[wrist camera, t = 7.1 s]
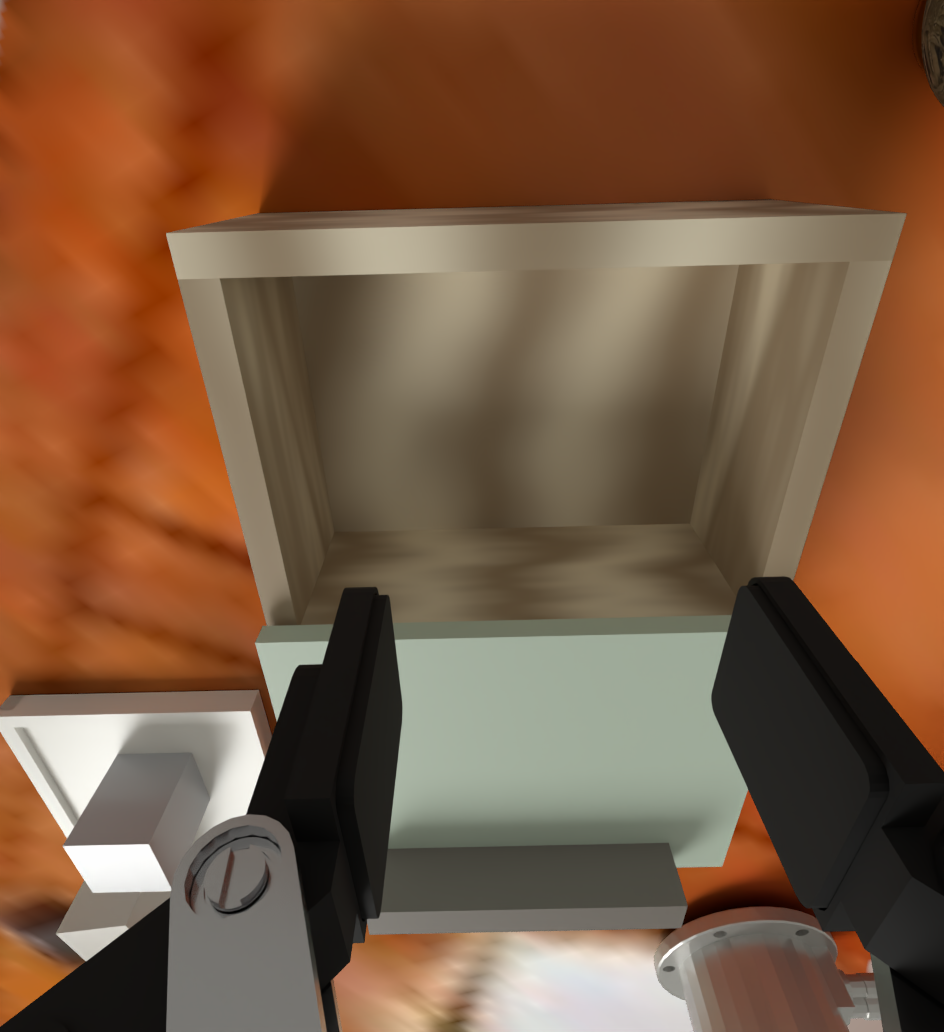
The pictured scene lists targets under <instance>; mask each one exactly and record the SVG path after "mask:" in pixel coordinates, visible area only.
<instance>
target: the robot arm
mask: <svg viewBox="0 0 944 1032" xmlns="http://www.w3.org/2000/svg"><path fill="white" fill-rule="evenodd" d="M711 702H712V708H713V712H714V715H715V717H716V719H717V721H718V724H719V726H720V728H721V730H722V732H723V735H724V737H725V739H726V741H727V743H728V746H729V748H730V750H731V752H732V755H733V757H734V759H735V761H736V763H737V766H738V768H739V770H740V772H741V774H742V777H743V779H744V781H745V783H746V786H747V788H748V790H749V792H750V794H751V797H752V799H753V801H754V803H755V805H756V808H757V810H758V812H759V814H760V816H761V819H762V821H763V823H764V825H765V828H766V830H767V832H768V834H769V836H770V839H771V841H772V843H773V845H774V847H775V850H776V852H777V854H778V856H779V858H780V861H781V863H782V865H783V867H784V870H785V872H786V874H787V876H788V878H789V881H790V883H791V885H792V887H793V889H794V892H795V894H796V896H797V898H798V900H799V901H800V902H801V904H802V905H803V906H804V907H806V908H812V909H813V911H814V914H815V916H816V918H815V917H813V916H812V915H809V914H806V913H804V912H801V911H798V910H793V909H788V908H782V907H771V906H758V907H743V908H735V909H729V910H725V911H720V912H715V913H712V914H709V915H706V916H703V917H700V918H697V919H695V920H693V921H691V922H688V923H686V924H684V925H683V926H682V927H681V928H678V929H676V930H674V931H673V932H672V933H670V934H669V935H668V936H667V937H666V938H665V939H664V940H663V941H662V942H661V944H660V945H659V946H658V948H657V950H656V952H655V955H654V966H655V970H656V974H657V977H658V981H659V983H660V984H661V985H662V987H663V988H664V989H665V990H667V991H668V992H669V993H671V994H672V995H674V996H676V997H678V998H680V999H682V1000H685V1001H686V1004H687V1008H688V1012H689V1016H690V1020H691V1024H692V1027H693V1031H694V1032H849V1029H848V1027H847V1025H849V1024H850V1019H852V1018H853V1019H854V1018H863V1019H865V1020H881V1021H882V1027H883V1032H944V772H943V770H942V769H941V768H940V767H939V765H938V764H937V763H936V761H935V760H934V759H933V758H932V756H931V755H930V754H929V753H928V751H927V750H926V749H925V747H924V746H923V745H922V744H921V742H920V741H919V740H918V739H917V737H916V736H915V735H914V733H913V732H912V731H911V730H910V728H909V727H908V726H907V725H906V723H905V722H904V721H903V719H902V718H901V717H900V716H899V714H898V713H897V712H896V711H895V709H894V708H893V707H892V705H891V704H890V703H889V702H888V700H887V699H886V698H885V697H884V695H883V694H882V693H881V691H880V690H879V689H878V688H877V686H876V685H875V684H874V683H873V681H872V680H871V679H870V677H869V676H868V675H867V674H866V672H865V671H864V670H863V669H862V667H861V666H860V665H859V663H858V662H857V661H856V660H855V659H854V658H853V657H852V655H851V654H850V653H849V651H848V650H847V649H846V648H845V646H844V645H843V644H842V642H841V641H840V640H839V639H838V637H837V636H836V635H835V634H834V632H833V631H832V630H831V628H830V627H829V626H828V625H827V623H826V622H825V621H824V620H823V618H822V617H821V616H820V614H819V613H818V612H817V611H816V609H815V608H814V607H813V606H812V604H811V603H810V602H809V600H808V599H807V598H806V597H805V595H804V594H803V593H802V591H801V590H800V589H799V588H798V586H797V585H796V584H795V583H794V581H793V580H792V579H791V578H789V577H786V576H778V577H754V578H751V580H750V581H749V582H748V585H747V586H741V587H740V588H739V590H738V593H737V597H736V601H735V605H734V608H733V612H732V616H731V620H730V624H729V628H728V632H727V635H726V639H725V643H724V647H723V651H722V655H721V659H720V662H719V666H718V670H717V674H716V678H715V682H714V686H713V689H712V694H711ZM402 709H403V708H402V695H401V687H400V679H399V670H398V662H397V654H396V645H395V637H394V629H393V620H392V612H391V604H390V597H389V595H379V592H378V589H377V587H349V588H345V589H344V590H343V593H342V596H341V599H340V603H339V607H338V610H337V614H336V617H335V621H334V624H333V628H332V631H331V635H330V638H329V642H328V645H327V649H326V652H325V656H324V660H323V663H322V664H310V665H298V666H297V668H296V669H295V671H294V673H293V676H292V678H291V681H290V684H289V687H288V690H287V693H286V696H285V699H284V702H283V705H282V708H281V711H280V714H279V717H278V720H277V723H276V726H275V729H274V732H273V735H272V738H271V741H270V744H269V747H268V750H267V753H266V756H265V759H264V762H263V765H262V768H261V771H260V774H259V777H258V780H257V783H256V786H255V789H254V792H253V795H252V798H251V801H250V804H249V807H248V810H247V813H246V815H243V816H239V817H234V818H230V819H228V820H226V821H224V822H222V823H220V824H218V825H216V826H214V827H212V828H211V829H210V830H209V831H207V832H206V833H205V834H204V835H202V836H201V837H200V838H198V839H197V840H196V841H195V843H194V844H193V845H192V846H191V847H190V849H189V850H188V851H187V852H186V853H185V855H184V856H183V858H182V860H181V862H180V864H179V866H178V868H177V870H176V872H175V874H174V877H173V882H172V887H171V892H170V898H168V899H167V900H166V901H165V902H163V903H162V904H161V905H159V906H158V907H157V908H155V909H154V910H153V911H151V912H150V913H149V914H148V915H146V916H145V917H144V918H142V919H141V920H140V921H138V922H137V923H136V924H134V925H133V926H132V927H130V928H129V929H128V930H127V931H125V932H124V933H123V934H121V935H120V936H119V937H117V938H116V939H115V940H113V941H112V942H111V943H110V944H108V945H107V946H106V947H104V948H103V949H102V950H100V951H99V952H98V953H96V954H95V955H94V956H93V957H91V958H90V959H89V960H87V961H86V962H85V963H83V964H82V965H81V966H79V967H78V968H77V969H76V970H74V971H73V972H72V973H70V974H69V975H68V976H66V977H65V978H64V979H62V980H61V981H60V982H58V983H57V984H56V985H55V986H53V987H52V988H51V989H49V990H48V991H47V992H45V993H44V994H43V995H41V996H40V997H39V998H38V999H36V1000H35V1001H34V1002H32V1003H31V1004H30V1005H28V1006H27V1007H26V1008H24V1009H23V1010H22V1011H21V1012H19V1013H18V1014H17V1015H15V1016H14V1017H13V1018H11V1019H10V1020H9V1021H7V1022H6V1023H5V1024H4V1025H2V1026H1V1027H0V1032H342V1027H341V1021H340V1015H339V1009H338V1004H337V998H336V992H335V987H334V981H333V978H334V977H335V976H336V975H337V974H338V973H339V972H340V971H341V970H342V969H343V968H344V967H345V966H346V965H347V964H348V963H349V962H350V958H351V951H352V944H353V943H364V941H365V933H366V925H367V919H378V918H379V916H380V912H381V906H382V897H383V888H384V879H385V870H386V861H387V852H388V843H389V834H390V825H391V816H392V807H393V798H394V789H395V780H396V771H397V763H398V754H399V745H400V736H401V727H402ZM832 931H856V933H857V935H858V937H859V939H860V941H861V943H862V944H863V946H864V948H865V950H867V951H868V952H870V955H871V961H872V967H873V973H857V974H846V975H845V973H844V972H843V971H842V970H840V969H837V967H836V965H835V961H836V958H837V954H838V953H837V946H836V944H835V941H834V939H833V937H832V935H831V933H830V932H832Z"/></svg>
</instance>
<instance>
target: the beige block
mask: <svg viewBox="0 0 944 1032" xmlns="http://www.w3.org/2000/svg"><path fill="white" fill-rule="evenodd" d="M170 892H171V891H158V892H110V893H92V891H91V889H90V888H89V886H88V885H87V883H86V882H85V880H84V882H83V884H82V886H81V888H80V889H79V891H78V893H77V895H76V897H75V899H74V901H73V903H72V904H71V906H70V908H69V910H68V912H67V914H66V916H65V917H64V919H63V921H62V923H61V925H60V927H59V929H58V930H57V932H56V934H57V935H58V936H59V937H60V938H61V939H62V940H63V941H64V942H65V943H66V944H68V945H69V946H70V947H71V948H72V949H73V950H74V951H75V952H76V953H77V954H79V955H80V956H81V957H82V958H83V959H84V960H85V961H87V960H89V959H90V958H91V957H93V956H94V955H95V954H96V953H98V952H99V951H100V950H102V949H103V948H104V947H106V946H107V945H108V944H110V943H111V942H112V941H113V940H115V939H116V938H117V937H119V936H120V935H121V934H123V933H124V932H125V931H127V930H128V929H129V928H130V927H132V926H133V925H134V924H136V923H137V922H138V921H140V920H141V919H142V918H144V917H145V916H146V915H148V914H149V913H150V912H151V911H153V910H154V909H155V908H157V907H158V906H159V905H161V904H162V903H163V902H165V901H166V900H167V899H168V898H170Z"/></svg>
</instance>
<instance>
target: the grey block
mask: <svg viewBox="0 0 944 1032" xmlns="http://www.w3.org/2000/svg"><path fill="white" fill-rule="evenodd" d="M209 801H210V797H209V794H208V792H207V789H206V787H205V784H204V782H203V779H202V776H201V774H200V771H199V769H198V766H197V764H196V761H195V759H194V756H193V754H192V752H191V753H146V754H117V756H116V758H115V759H114V761H113V763H112V764H111V766H110V768H109V769H108V771H107V773H106V774H105V776H104V778H103V779H102V781H101V783H100V784H99V786H98V788H97V789H96V791H95V793H94V794H93V796H92V798H91V799H90V801H89V803H88V805H87V806H86V808H85V810H84V811H83V813H82V815H81V816H80V818H79V820H78V821H77V823H76V825H75V826H74V828H73V830H72V831H71V833H70V835H69V836H68V838H67V840H66V841H65V843H64V845H63V847H64V849H65V850H66V852H67V854H68V855H69V857H70V858H71V860H72V861H73V863H74V864H75V866H76V868H77V869H78V871H79V872H80V874H81V875H82V877H83V879H84V880H85V882H86V883H87V885H88V886H89V888H90V889H91V891H92V893H110V892H158V891H171V887H172V882H173V877H174V874H175V872H176V870H177V868H178V866H179V864H180V862H181V860H182V858H183V856H184V855H185V853H186V852H187V851H188V850H189V849H190V847H191V845H192V843H193V841H194V838H195V836H196V833H197V831H198V828H199V826H200V823H201V821H202V818H203V816H204V813H205V811H206V809H207V806H208V804H209Z"/></svg>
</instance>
